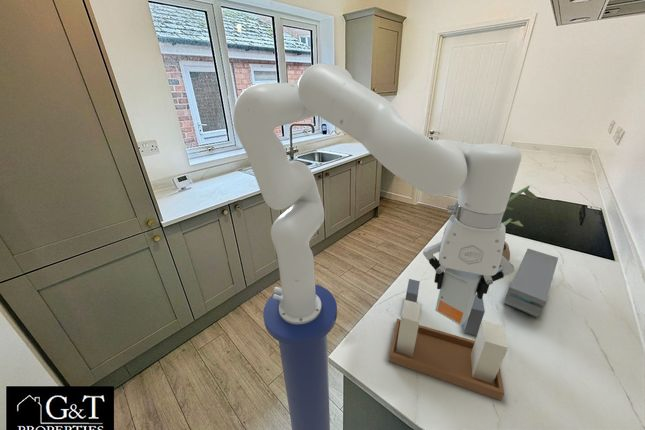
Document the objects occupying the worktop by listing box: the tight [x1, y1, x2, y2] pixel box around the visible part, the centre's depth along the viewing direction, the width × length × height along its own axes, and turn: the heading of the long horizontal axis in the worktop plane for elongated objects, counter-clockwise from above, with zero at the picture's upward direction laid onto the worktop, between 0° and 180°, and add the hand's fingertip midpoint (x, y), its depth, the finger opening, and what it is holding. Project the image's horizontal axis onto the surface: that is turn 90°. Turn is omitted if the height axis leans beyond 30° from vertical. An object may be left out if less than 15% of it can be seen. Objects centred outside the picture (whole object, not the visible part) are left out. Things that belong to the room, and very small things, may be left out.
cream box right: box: [471, 319, 509, 384], centre depth 58 cm, size 4×6×12 cm, turn 157°
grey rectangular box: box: [504, 248, 559, 318], centre depth 78 cm, size 25×8×11 cm, turn 136°
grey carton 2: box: [462, 293, 486, 337], centre depth 70 cm, size 3×6×9 cm, turn 157°
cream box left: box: [396, 299, 422, 357], centre depth 64 cm, size 4×6×12 cm, turn 157°
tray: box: [388, 318, 505, 401], centre depth 64 cm, size 24×12×3 cm, turn 67°
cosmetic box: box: [434, 268, 482, 327], centre depth 56 cm, size 6×4×12 cm
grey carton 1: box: [404, 278, 421, 303], centre depth 76 cm, size 3×6×9 cm, turn 157°
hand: (458, 289), depth 55 cm, fingers closed on cosmetic box, 7 cm apart
